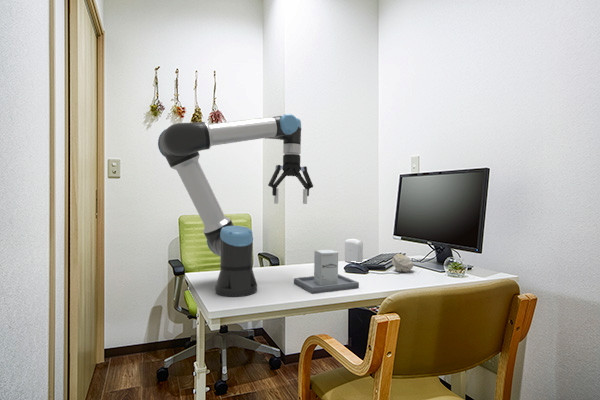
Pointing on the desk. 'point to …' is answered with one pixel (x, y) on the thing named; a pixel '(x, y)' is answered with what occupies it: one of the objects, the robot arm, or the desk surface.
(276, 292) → the desk surface
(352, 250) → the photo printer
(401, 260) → the fossil replica
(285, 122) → the robot arm
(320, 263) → the supplement box
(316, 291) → the tray
